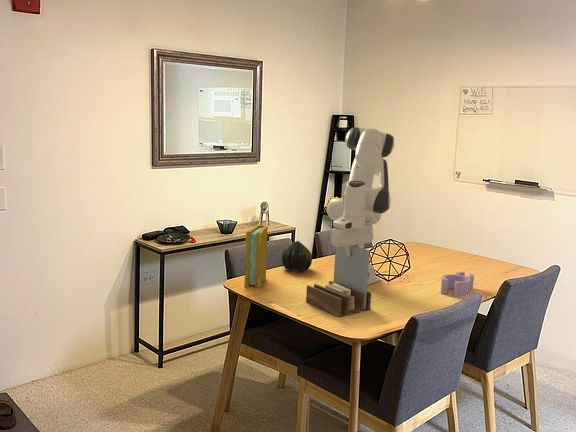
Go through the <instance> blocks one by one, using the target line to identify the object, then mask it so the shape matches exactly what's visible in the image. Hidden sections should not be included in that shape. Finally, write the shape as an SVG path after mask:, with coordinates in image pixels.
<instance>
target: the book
mask: <svg viewBox="0 0 576 432" xmlns="http://www.w3.org/2000/svg"><path fill="white" fill-rule="evenodd" d="M268 229H269V227H268V225H264V224H257V225H254V226H253V227H252V228H250V229H248V230H246V231H245V243H246V250H245V251H246V254H245V275H244V287H245V288H246V287H247V288H249V287H250V286H251V285H252V286H254V288H260V287H261V286H262V284H263V283H264V281H265V280H266V279H267V255H268V254H267V253H268ZM262 282H263V283H262Z"/></svg>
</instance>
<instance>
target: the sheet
mask: <svg viewBox="0 0 576 432" xmlns="http://www.w3.org/2000/svg"><path fill="white" fill-rule="evenodd" d="M349 249H350V251H351V252H352V256H346V250H345V248H344V247H335V250H334V251H335V253H334V267H333V268H334V269H333V270H334V271H333V282H335V283H338V284H340V285H343V286H345V287H348V288H351V289H353V290H356V291H358V292H361V293H363V294H365V296H364V309H366V297H367V291H368V285H367V282H368V268H369V263H370V256H369V254H370V251H371V250H368V249H365V248H363V249H362V248H359V247H356V246H352V245H351V247H350V248H349Z"/></svg>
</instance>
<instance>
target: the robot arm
mask: <svg viewBox="0 0 576 432" xmlns="http://www.w3.org/2000/svg"><path fill="white" fill-rule="evenodd" d="M345 143H346V147H347V148H348V149H350V150H352V151H355V156H354V159H353V162H352V165H351V169H350V174H349V178H348V181H347V183H346V187H345V189H344V190H345V191H344V193H343V197H338V198H332V199H331V200H330V201H329V202H328V204H327V209H326V211H327V212H326V213H327V215H328V217H329V218H330V220H331V221H333V222H332V226H333V228H332V230H331V237H330V240H331V241H330V243H331V245H332V247H335V248H336V247H344V248H345V250H346V256H352V252H351V251H350V249H349V248H350V247H351V245H352V246H356V247H359V248H362V249H365V248H364V246H365V244H371V243H372V242H373V240H374V230H373V229H374V228H373V225H376V224H377V223H379V222H380V221H381V219H382V214H384V213H386V212H387V211H389V209H390V206H391V200H392V199H391V195H390V194H391V193H390V189H389V188H390V187H389V186H390V184H389V183H390V182H389V181H390V180H389V170H388V167H389V166H388V162H387V160H386V159H385V158H386V157H388V156H390V155H391V153H392V152H393V151H394V148H395V138H394V136H393V135H392V134H390V133H387V132H383V131H380V130H377V129H376V128H360V127H355V126H354V127H351V128H350V129H349V130H348V132H347V134H346V137H345ZM375 176H377V177H378V182H379V185H378V186H379V187H377V188H373V185H374V184H373V183H374V177H375ZM370 255H371V254H370V253H369V257H370ZM380 280H381V278H380V277H379V276H377V275H376V269H375V267H374V266H373V265H372V264H371V263H370V262H369V268H368V282H367V286H368V285H371V284H375V283H377V282H380Z"/></svg>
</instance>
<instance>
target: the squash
mask: <svg viewBox="0 0 576 432" xmlns="http://www.w3.org/2000/svg"><path fill="white" fill-rule="evenodd" d="M281 263H282V266H283V268H284V269H285V270H287V271H293V270H294V271H297V272H298V273H303V272H305V271H307V270H309V269H310V267H311V265H312V263H313V256H312V252H311V251H310V250H309V249H308V247H306V246H305V245H304V244H303V243H302V242H301V241H300V240H297V241H294V242H292V243H291V244H290V245H287V247H286V248H285V249H284V251H283V252H282V255H281Z"/></svg>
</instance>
